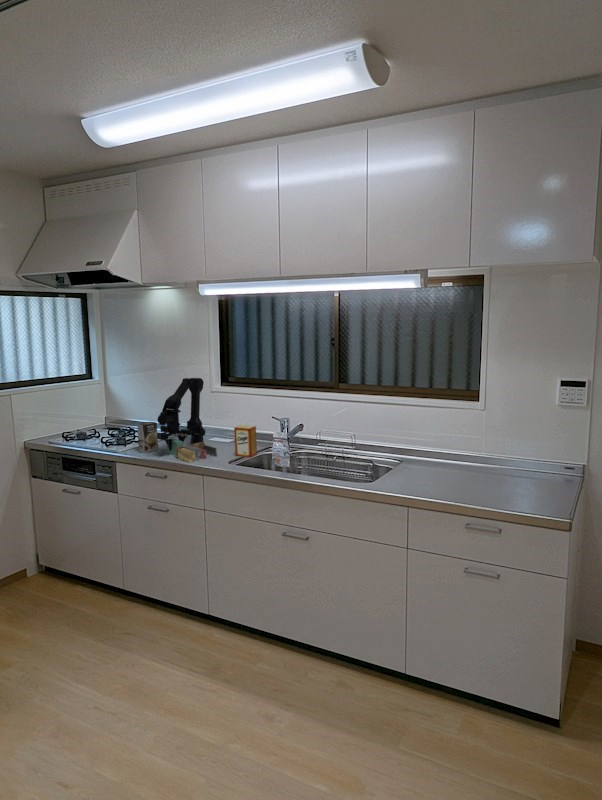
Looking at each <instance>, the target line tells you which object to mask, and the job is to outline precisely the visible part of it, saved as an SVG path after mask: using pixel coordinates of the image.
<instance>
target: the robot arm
mask: <svg viewBox="0 0 602 800" xmlns="http://www.w3.org/2000/svg"><path fill="white" fill-rule="evenodd" d="M188 390H189V392H190V393H191V394H190V418H189V420H187V422H186V428H180V426H181V423H180V418H179V417H180V416H179V413H181V412H182V411H181V410H180V407H181V405H182V399H183V398H184V396H185V394H186V393H187V391H188ZM203 390H204V379H203V378H201V377H189V378H188V377H185V378H183V379H182V381H181V383H180V384H179V385H178V387H177V389H176V390H175V392H174V393H173V394H171V395H169V396H168V397H167V398H166V400H165V401H164V405H163V408H162V410H161V412H160V413H159V415H158V417H157V420H156V421H157V424H159V425H160V429H159V430H160V433H157V439H158V440H159V441H165V443H166V446H167V445H168V447H169V450H170V451H171V450H172V437H175V436H177V439H178V440H180V441H183V443H184V442H185V439H186V438H188V436H190V444H195V443H200V442H204V436H205V435H206V431H207V430H206V429H205V428H204V427H203V422H202V420H201V419H200V408H201V407H200V406H201V405H200V404H201V403H200V402H201V401H200V400H201V393H202V391H203ZM204 445H206V444H205V443H204Z"/></svg>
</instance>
